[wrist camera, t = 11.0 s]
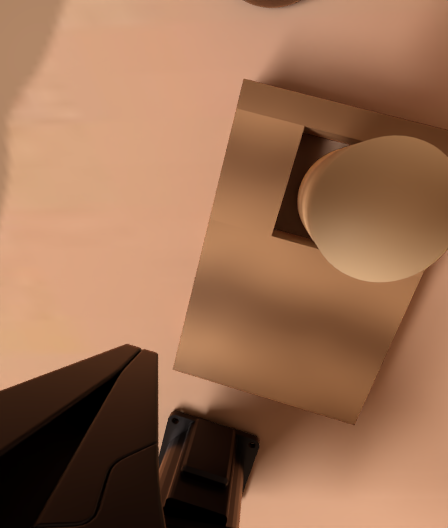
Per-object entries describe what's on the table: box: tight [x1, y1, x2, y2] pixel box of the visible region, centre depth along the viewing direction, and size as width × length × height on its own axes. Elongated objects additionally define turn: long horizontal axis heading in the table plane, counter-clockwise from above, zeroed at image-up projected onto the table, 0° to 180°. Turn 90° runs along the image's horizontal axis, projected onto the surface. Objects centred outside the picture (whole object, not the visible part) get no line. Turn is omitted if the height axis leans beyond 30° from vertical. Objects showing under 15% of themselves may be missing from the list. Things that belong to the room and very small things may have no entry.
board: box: [173, 79, 448, 425], centre depth 19 cm, size 16×11×2 cm
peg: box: [297, 135, 448, 282], centre depth 15 cm, size 4×4×9 cm
